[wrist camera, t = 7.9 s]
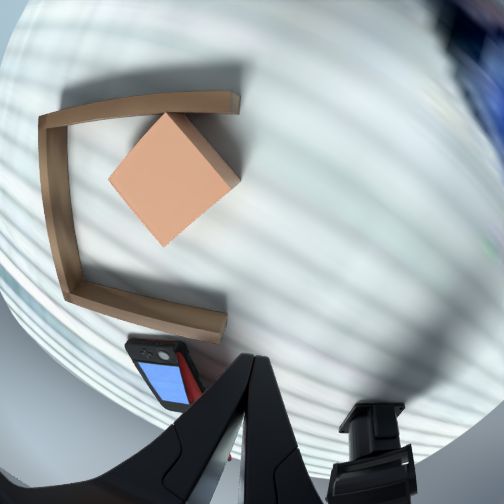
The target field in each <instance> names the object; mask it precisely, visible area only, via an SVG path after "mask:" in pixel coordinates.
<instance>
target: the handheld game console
mask: <svg viewBox="0 0 504 504" xmlns="http://www.w3.org/2000/svg"><path fill="white" fill-rule="evenodd" d="M125 349H126V351H127V352H128V354H129V356H130V358H131V359H132V361H133V363H134V364H135V366H136V368H137V369H138V371H139V373H140V374H141V376H142V377H143V379H144V380H145V382H146V383H147V385H148V386H149V388H150V389H151V391H152V392H153V394H154V395H155V397H156V398H157V399H158V401H159V402H160V404H161V405H162V406H163V407H164V408H165V409H167V410H170V411H175V412H181V413H184V412H185V411H186V410H187V409H188V408H189V407H190V406H191V405H192V404H193V403H194V402H195V401H196V400H197V399H198V398H199V397H200V396H201V395H202V394H203V393H204V392H205V391H206V389H204V388H203V387H202V385H201V383H200V381H199V379H198V375H197V374H198V372H197V370H196V368H195V366H194V364H193V362H192V359H191V357H190V355H189V351H188V349H187V347H186V345H185V344H184V343H183V342H181V341H179V342H170V341H154V340H140V339H129V340H128V341H127V342H126V343H125ZM228 461H231V455H229V457H228Z"/></svg>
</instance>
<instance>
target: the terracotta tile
mask: <svg viewBox="0 0 504 504" xmlns="http://www.w3.org/2000/svg"><path fill="white" fill-rule="evenodd" d="M108 180H109V182H110V183H111V184H112V186H113V187H114V188H115V189H116V191H117V192H118V193H119V195H120V196H121V197H122V198H123V200H124V201H125V202H126V203H127V204H128V206H129V207H130V208H131V209H132V211H133V212H134V213H135V214H136V215H137V217H138V218H139V219H140V220H141V222H142V223H143V224H144V225H145V226H146V227H147V229H148V230H149V231H150V232H151V233H152V235H153V236H154V237H155V238H156V239H157V240H158V242H159V243H160V244H161V245H162V246H163V247H165V246H166V245H167V244H168V243H169V242H170V241H172V240H173V239H174V238H175V237H176V236H177V235H178V234H179V233H181V232H182V231H183V230H184V229H185V228H186V227H187V226H189V225H190V224H191V223H192V222H193V221H194V220H196V219H197V218H198V217H199V216H200V215H201V214H203V213H204V212H205V211H206V210H207V209H209V208H210V207H211V206H212V205H213V204H215V203H216V202H217V201H218V200H219V199H221V198H222V197H223V196H224V195H226V194H227V193H228V192H229V191H230V190H232V189H233V188H234V187H235V186H236V185H237V184H238V183H240V182H241V180H240V179H239V178H238V177H237V175H236V174H235V173H234V172H233V171H232V169H231V168H230V167H229V166H228V165H227V163H226V162H225V161H224V160H223V159H222V158H221V156H220V155H219V154H218V153H217V152H216V150H215V149H214V148H213V147H212V146H211V145H210V143H209V142H208V141H207V140H206V139H205V138H204V136H203V135H202V134H201V133H200V132H199V131H198V130H197V128H196V127H195V126H194V125H193V124H192V123H191V122H190V120H189V119H188V118H187V117H186V116H185V115H184V114H179V113H167V112H165V113H164V114H163V116H162V117H161V118H160V119H159V120H158V121H157V122H156V123H155V124H154V125H153V126H152V127H151V128H150V129H149V130H148V132H147V133H146V134H145V135H144V136H143V137H142V138H141V139H140V141H139V142H138V143H137V144H136V145H135V146H134V148H133V149H132V150H131V151H130V152H129V154H128V155H127V156H126V157H125V158H124V160H123V161H122V162H121V163H120V165H119V166H118V167H117V168H116V170H115V171H114V172H113V174H112V175H111V176H110V177H109V179H108Z"/></svg>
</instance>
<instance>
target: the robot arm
mask: <svg viewBox="0 0 504 504" xmlns="http://www.w3.org/2000/svg"><path fill="white" fill-rule="evenodd" d="M404 409H405V404H357V405H355V406H354V407H353V409H352V411H351V412H350V414H349V415H348V417H347V418H346V419H345V421H344V422H343V424H342V425H341V427H340V428H339V433H349V462H344V463H335V464H333V469H332V471H331V476H330V482H329V488H328V492H327V495H326V498H325V500H326V502H328V504H411V496H412V495H415V494H417V483H416V474H415V467H414V460H413V453H412V447H411V444H408V445H406V446H405V447H402V448H401V445H400V438H399V428H398V422H397V417H398V416H399V415H400V414H401V412H402V411H403V410H404ZM244 413H245V414H244ZM243 417H244V422H243V436H242V451H241V466H240V481H239V494H238V504H324V503H323V502H322V500H321V499H320V496H319V494H318V493H317V491H316V489H315V487H314V485H313V483H312V481H311V479H310V476H309V474H308V472H307V469H306V467H305V464H304V462H303V459H302V456H301V453H300V450H299V448H298V445H297V442H296V439H295V436H294V433H293V430H292V427H291V424H290V421H289V418H288V415H287V412H286V409H285V405H284V402H283V399H282V396H281V393H280V390H279V387H278V384H277V381H276V378H275V375H274V372H273V368H272V365H271V362H270V359H269V357H267V356H261V355H256V356H254V354H249V353H241V354H240V355H239V356H238V357H237V358H236V359H235V360H234V361H233V362H232V364H231V365H230V366H229V367H228V368H227V369H226V370H225V371H224V372H223V373H222V374H221V375H220V376H219V377H218V378H217V379H216V380H215V381H214V383H213V384H212V385H211V386H210V387H209V388H208V389H207V390H206V391H205V392H204V393H203V394H202V395H201V396H200V397H199V398H198V399H197V400H196V401H195V402H194V403H193V404H192V405H191V406H190V407H189V408H188V409H187V410H186V411H185V412H184V413H183V414H182V415H181V416H180V417H179V418H178V419H177V420H176V421H175V422H174V423H173V424H174V425H173V424H171V425H170V426H169V427H168V428H167V429H166V430H165V431H164V432H163V433H162V434H161V435H159V436H158V437H157V438H156V439H155V440H154V441H152V442H151V443H150V444H149V445H147V446H146V447H144V448H143V449H142V450H140V451H139V452H138V453H136V454H135V455H133V456H132V457H130V458H129V459H127V460H125V461H124V462H122V463H121V464H119V465H118V466H116V467H114V468H113V469H111V470H109V471H108V472H106V473H104V474H102V475H100V476H98V477H96V478H93V479H90V480H86V481H82V482H76V483H70V484H63V485H55V486H46V487H35V488H31V487H30V486H28V485H26V484H25V483H23V482H22V481H20V480H18V479H17V478H15V477H14V476H12V475H11V474H9V473H8V472H6V471H5V470H4V469H2V468H0V504H209V503H210V501H211V499H212V496H213V494H214V492H215V489H216V487H217V485H218V482H219V480H220V477H221V475H222V472H223V470H224V467H225V465H226V462H227V460H228V457H229V455H230V452H231V450H232V447H233V444H234V442H235V439H236V437H237V434H238V431H239V429H240V426H241V423H242V420H243ZM406 462H409V463H408V464H404V465H402V464H403V463H406Z"/></svg>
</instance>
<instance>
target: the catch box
mask: <svg viewBox="0 0 504 504" xmlns="http://www.w3.org/2000/svg"><path fill="white" fill-rule="evenodd" d="M239 107H240V96H239V95H237V94H235V93H233V92H232V91H188V92H170V93H158V94H148V95H139V96H131V97H124V98H117V99H111V100H105V101H100V102H94V103H89V104H85V105H80V106H76V107H71V108H67V109H63V110H59V111H56V112H52V113H49V114H45V115H42V116H39V119H38V149H39V169H40V181H41V191H42V200H43V207H44V214H45V220H46V226H47V232H48V237H49V242H50V247H51V251H52V256H53V260H54V264H55V268H56V272H57V276H58V279H59V283H60V286H61V290H62V293H63V296H64V299H65V301H67V302H70V303H73V304H75V305H78V306H81V307H84V308H87V309H89V310H92V311H95V312H98V313H101V314H104V315H107V316H111V317H114V318H117V319H120V320H123V321H127V322H130V323H134V324H137V325H141V326H144V327H148V328H151V329H155V330H159V331H163V332H166V333H170V334H174V335H178V336H183V337H187V338H191V339H196V340H200V341H205V342H209V343H214V344H220V341H221V338H222V336H223V333H224V331H225V328H226V325H227V313H222V312H216V311H211V310H206V309H201V308H196V307H191V306H186V305H181V304H177V303H172V302H168V301H163V300H159V299H154V298H150V297H146V296H142V295H138V294H133V293H129V292H125V291H122V290H118V289H114V288H110V287H106V286H103V285H99V284H95V283H92V282H88V281H85V280H84V277H83V272H82V268H81V263H80V259H79V254H78V248H77V243H76V237H75V231H74V225H73V218H72V210H71V201H70V192H69V180H68V163H67V126H68V125H73V124H79V123H85V122H91V121H98V120H105V119H113V118H122V117H132V116H144V115H160V114H164V113H165V112H167V113H179V114H192V113H207V114H239Z"/></svg>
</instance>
